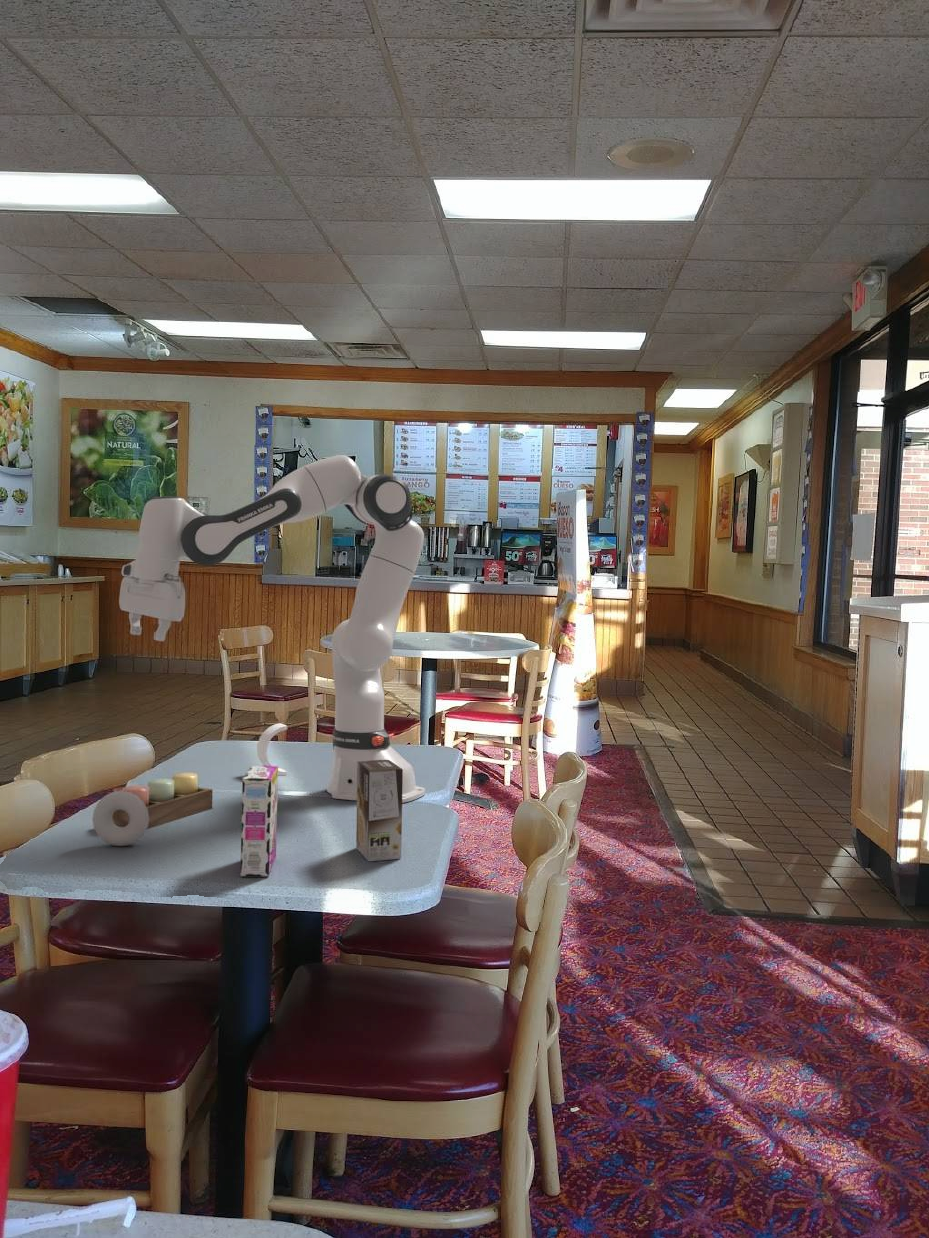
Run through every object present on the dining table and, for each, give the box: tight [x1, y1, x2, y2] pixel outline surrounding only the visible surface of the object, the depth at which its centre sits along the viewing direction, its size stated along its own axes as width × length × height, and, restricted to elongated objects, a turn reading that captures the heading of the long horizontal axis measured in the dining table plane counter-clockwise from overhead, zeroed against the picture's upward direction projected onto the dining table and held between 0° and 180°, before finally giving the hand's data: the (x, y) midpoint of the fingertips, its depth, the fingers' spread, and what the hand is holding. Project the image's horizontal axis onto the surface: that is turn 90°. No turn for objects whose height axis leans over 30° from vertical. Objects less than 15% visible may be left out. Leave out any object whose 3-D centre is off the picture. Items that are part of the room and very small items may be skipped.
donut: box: [92, 790, 149, 847], centre depth 173 cm, size 10×4×10 cm, turn 90°
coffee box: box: [355, 760, 403, 862], centre depth 172 cm, size 9×6×16 cm
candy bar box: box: [239, 765, 279, 878], centre depth 163 cm, size 11×5×16 cm, turn 5°
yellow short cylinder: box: [171, 772, 199, 795], centre depth 199 cm, size 5×5×4 cm
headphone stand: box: [256, 723, 288, 777], centre depth 234 cm, size 5×6×12 cm
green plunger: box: [147, 778, 174, 802], centre depth 193 cm, size 5×5×4 cm
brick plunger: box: [121, 785, 149, 807], centre depth 187 cm, size 5×5×4 cm
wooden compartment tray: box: [112, 786, 213, 830], centre depth 193 cm, size 8×21×4 cm, turn 153°
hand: (146, 637), depth 202 cm, fingers open, 8 cm apart
